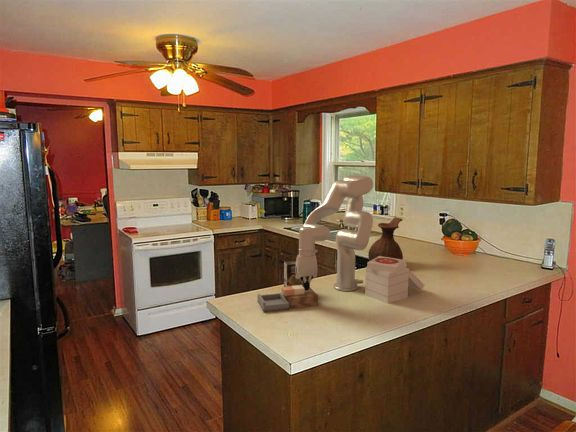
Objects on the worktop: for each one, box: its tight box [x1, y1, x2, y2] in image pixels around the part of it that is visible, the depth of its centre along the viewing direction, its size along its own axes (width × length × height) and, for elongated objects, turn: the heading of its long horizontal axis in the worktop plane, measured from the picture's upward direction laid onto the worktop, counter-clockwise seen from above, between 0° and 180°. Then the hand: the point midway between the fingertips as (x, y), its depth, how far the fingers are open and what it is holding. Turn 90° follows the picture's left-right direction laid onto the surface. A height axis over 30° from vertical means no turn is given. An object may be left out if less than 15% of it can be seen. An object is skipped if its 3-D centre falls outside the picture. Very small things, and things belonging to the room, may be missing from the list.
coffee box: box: [283, 260, 303, 287], centre depth 211 cm, size 9×6×16 cm
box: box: [257, 292, 290, 313], centre depth 194 cm, size 12×14×4 cm
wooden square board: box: [282, 287, 319, 309], centre depth 198 cm, size 14×12×5 cm
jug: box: [368, 216, 404, 261], centre depth 258 cm, size 22×22×30 cm
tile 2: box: [292, 285, 304, 295], centre depth 197 cm, size 5×5×3 cm
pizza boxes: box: [364, 256, 425, 304], centre depth 209 cm, size 19×30×18 cm, turn 125°
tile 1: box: [281, 286, 294, 296], centre depth 196 cm, size 5×5×3 cm
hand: (306, 289), depth 198 cm, fingers closed
